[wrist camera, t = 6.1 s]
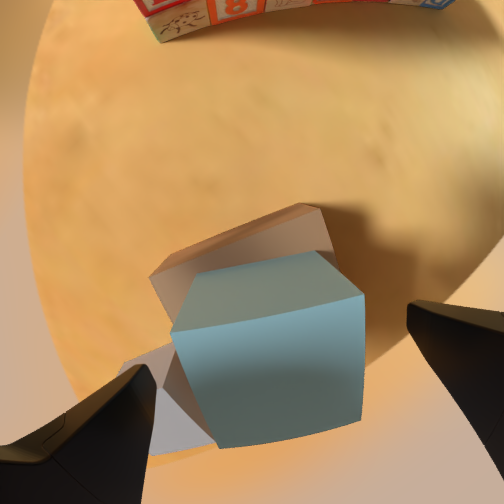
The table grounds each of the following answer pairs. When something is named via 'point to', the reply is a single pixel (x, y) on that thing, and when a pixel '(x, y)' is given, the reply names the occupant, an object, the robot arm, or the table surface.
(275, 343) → the teal cube
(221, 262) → the walnut block
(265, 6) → the stack of blocks
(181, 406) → the light grey cube
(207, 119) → the table surface
